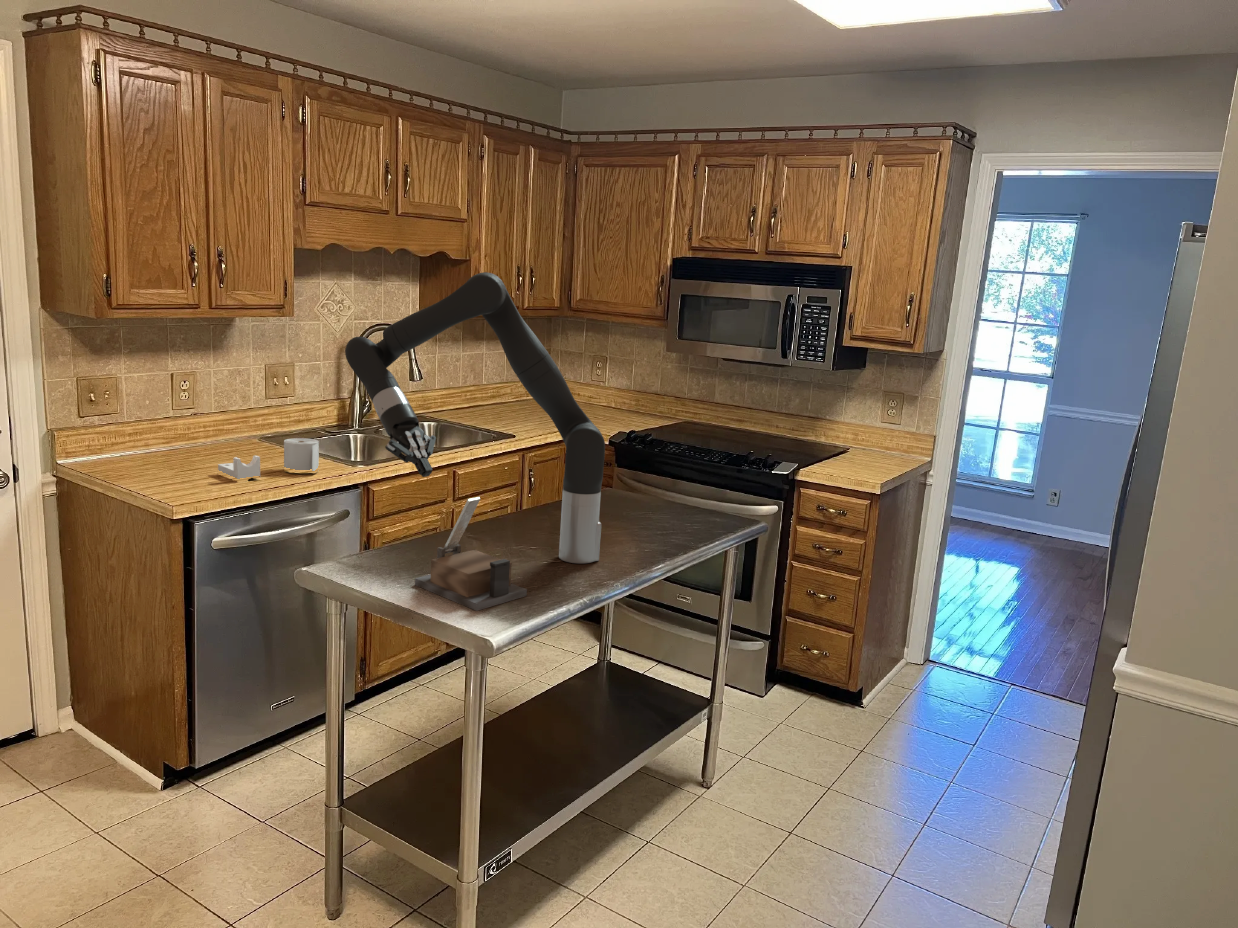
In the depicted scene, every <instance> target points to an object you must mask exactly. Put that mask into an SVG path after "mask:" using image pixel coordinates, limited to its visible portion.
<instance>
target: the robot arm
mask: <svg viewBox="0 0 1238 928" xmlns="http://www.w3.org/2000/svg"><path fill="white" fill-rule="evenodd" d="M479 316H482V317H483V319H485V321H486V323H488V325H489V327H491V329H492V330H493V332H494V333H495V334H496V337H497V339H498V340H499V343H500V345H501V347H502V350H503V352H504V354H505V357H506V360H507V361H508V363H509V365H510V367H511V369H512V370H513V372H514V374H515V376H516V377H517V378H518V380H519V382H520V383H521V384H522V386H523V387H524V389H525V390H526V392H528V394H529V396H531V398H532V399H533V400H534V401H535V402H536V403H537V405H539V406H540V408H542V410H544V412H545V413H546V414H547V415H548V416H549V418H550V419H551V420H552V423H553V424H554V425H555V427H556V429H557V431H558V433H559V434H560V437H561V439H562V441H563V443H564V445H565V457H564V458H565V459H564V472H563V473H564V474H563V479H562V480H563V482H562V494H561V495H562V496H561V497H562V499H561V500H562V501H561V517H560V531H559V534H560V535H559V544H558V545H559V546H558V558H559V559H560V560H561V561H564V562H566V563H570V564H571V563H572V564H590V563H593V562H598V561H599V560H600V550H601V549H600V547H601V536H602V534H601V533H602V523H601V521H600V508H601V496H602V492H601V491H602V485H603V480H604V468H605V467H604V466H605V459H606V458H605V455H606V443H605V438H604V436H603V433H602V431H601V430H600V429H599V428H598V427H597V426H596V425H595V424H594V422H592V420H591V419H590V417H589V416H587V414H586V413H585V412H584V411H583V409H582V408H581V407H580V405H579V404H578V402H577V401H576V399H575V398H574V396H573V394H572V392H571V389H570V387H569V385H568V384H567V381H566V380H565V377H564V376H563V374H562V372H561V371H560V368H559V367H558V365H557V364H556V362H555V361H554V359H553V358H552V356H551V354H550V353H549V352H548V350H547V349H546V347H545V346H544V345H543V344H542V342H541V340H540V338H538V336H537V335H536V334H535V333H534V331H533V329H531V328H530V326H529V325H528V324H527V323H526V320H524V318H523V317H522V316H521V314H520V312H519V310H518V309H517V307H516V305H515V303H514V301H513V299H512V297H511V295H510V293H509V292H508V290H507V288H506V285H505V284H504V282H503V280H502V279H501V278H500V276H498V275H497V274H494V273H492V272H488V271H484V272H479V273H477V274H474V275H472V276H471V277H469V279H467V280H466V282H465V283H464V284H462V285H461V286H459V288H457V289H456V290H455V291H453V292H452V293H450V294H449V295H447V296H446V297H444V298H443V299H441V300H439V301H437V302H436V303H433V304H431V305H429V306H427V307H424V308H422V309H420V310H418V311H416V312H413V313H412V314H409V315H407V316H405V317H403V318H401V319H400V320H398V321H396V322H394V323H392V324H390V325H388V326H387V327H386V328H384V329H383V331H382V339H381V340H380V341H378V342H377V343H375V342H373V341H372V340H371V339H369V338H367V337H365V336H355V337H352V338H351V339H350V340H348V341H347V342H346V343H347V344H346V346H345V349H344V351H345V352H344V355H345V358H346V362H347V363H348V364H349V366H350V368H351V369H352V371H353V372H354V374H355V375H356V376H357V378H358V379H359V381H360V382H361V383H362V384H363V386H364V388H365V390H366V392H367V395H368V396H369V398H370V401H371V402H372V404H373V407H374V410H375V413H376V415H377V416H378V418H379V420H380V423H381V424H382V426H383V428H384V430H385V432H386V434H387V436H388V437H389V441H388V442H387V444H386V445H385V447H384V448H385V449H386V450H387V452H390V453H391V454H393V455H394V456H396V457H397V458H398V459H399V460H401V461H403V462H404V463H409V462H410V463H412V465H414V466H415V468H416V470H417V472H418V474H419V475H420V476H421V477H422V478H425V477H426V478H427V477H429V476H430V475H431V474H432V472H433V467H432V465H431V463H430V461H429V458H430V457H431V456H432V455H433V453H434V449H435V444H436V439H437V438H436V436H435V435H433V434H432V435H431V436H429V435H427V434H426V433H425V431H424V430H423V429H422V428H421V427H420V423H419V418H418V417H417V414H416V413H415V411H414V409H413V407H412V405H411V404H410V402H409V399H408V398H407V396H406V395H405V393H404V392H403V390H402V389H401V387H400V385H399V383H398V381H397V379H396V377H395V376H394V375H393V373H392V372H391V371H390V369H388V367H390V366H391V365H392V364H393V363H394V362H395V361H397V360H398V359H399V358H400V357H401V356H402V355H403V354H405V353H407V352H408V351H411V350H412V349H413V350H414V348H415V349H416V348H417V347H419V346H421V345H422V344H424V343H426V342H428V341H429V340H432V339H433V338H434V337H436V336H437V335H439V334H441V333H442V332H444V331H446V330H447V329H449V328H452V327H453V326H456V325H457V324H460V323H462V322H464V321H467V320H470V319H473V318H476V317H479Z"/></svg>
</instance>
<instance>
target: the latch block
mask: <svg viewBox="0 0 1238 928" xmlns="http://www.w3.org/2000/svg"><path fill="white" fill-rule="evenodd" d="M461 548H462V545H461V544H459V543H458V545H457V547H456V551H454V552H452V554H450V555H445V554H446V553H445V548H444V547H442V546H439V547H437V549H436V557H435V558H434V559H433V558H432V559H431V560H430V574H427V575H423V576H419V577H415V578H414V585H415V586H416V587H419V588H422V589H424V590H426V591H428V592H431V593H434V594H435V595H438V596H440V597H443V598H445V599H448V600H450V601H452V602H455V603H457V604H459V605H462V606H464V607H465V608H468V609H471V610H473V611H476V612H477V611H481V610H484V609H487V608H491V607H494V606H497V605H501V604H504V603H507V602H512V601H514V600H517V599H521V598H525V597H527V593H528V592H527V591H528V589H527V588H524V587H522V586H519V585H516V584H514V583H512V581H511V580H512V579H511V578H512V565H513V564H512V563H513V562H511V560H509V559H506V558H499V557H496V556H493V555H490V554H488V553H486V552H482V551H479V550H476V549H472V550H467V551H463V552H461V551H462V550H461Z"/></svg>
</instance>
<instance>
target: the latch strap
mask: <svg viewBox="0 0 1238 928" xmlns="http://www.w3.org/2000/svg"><path fill="white" fill-rule="evenodd" d="M480 501H481V498H480V496H477V497H472V498H467V500H466V502H465V504H464V506H463V508H462V509H461V512H460V515H459V516H458V518H457V520H456V523H455V525H454V527H453V529H452V530H451V532H450V535H449V537H448V538H447V541H446V543H445V544H444V547H443V548H445V554H449V553H453V552H454V551H456V547H457V545H458V544H459V542H460V540H461V539H462V536H463V534H464V533H465V531H466V530H467V527H468V525H469V523H470V521H471V519H472V517H473V515H474V513H475V510H476V509H477V507H478V505H479V503H480Z"/></svg>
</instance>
